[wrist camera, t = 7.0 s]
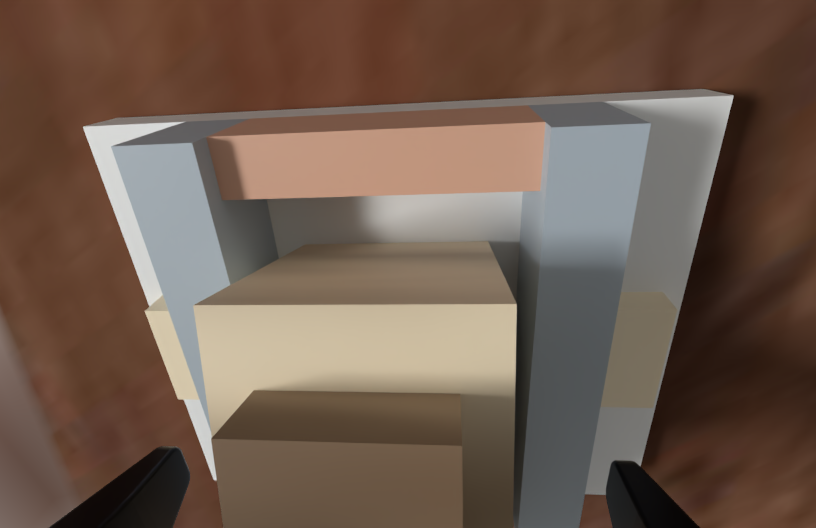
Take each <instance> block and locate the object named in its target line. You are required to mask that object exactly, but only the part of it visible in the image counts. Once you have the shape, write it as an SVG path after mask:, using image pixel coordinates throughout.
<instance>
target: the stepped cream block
mask: <svg viewBox="0 0 816 528" xmlns="http://www.w3.org/2000/svg"><path fill="white" fill-rule="evenodd" d="M193 308H194V315H195V322H196V329H197V336H198V343H199V350H200V357H201V364H202V371H203V379H204V386H205V393H206V400H207V407H208V414H209V421H210V428H211V435H212V438H211V443H212V450H213V457H214V464H215V471H216V478H217V485H218V492H219V499H220V506H221V513H222V520H223V527H224V528H513V494H514V438H515V381H516V325H517V303H516V301H515V299H514V297H513V295H512V292H511V290H510V288H509V286H508V284H507V281H506V279H505V277H504V275H503V273H502V271H501V268H500V266H499V264H498V262H497V260H496V257H495V255H494V253H493V251H492V249H491V246H490V244H489V242H488V241H467V242H411V243H355V244H305V245H303V246H301V247H300V248H298V249H296V250H294V251H292V252H290V253H289V254H287V255H285V256H283V257H281V258H279V259H277V260H276V261H274V262H272V263H270V264H268V265H266V266H265V267H263V268H261V269H259V270H257V271H255V272H254V273H252V274H250V275H248V276H246V277H244V278H242V279H241V280H239V281H237V282H235V283H233V284H231V285H230V286H228V287H226V288H224V289H222V290H220V291H219V292H217V293H215V294H213V295H211V296H209V297H207V298H206V299H204V300H202V301H200V302H198V303H196V304H195V305H193Z"/></svg>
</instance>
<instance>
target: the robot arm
mask: <svg viewBox="0 0 816 528" xmlns="http://www.w3.org/2000/svg"><path fill="white" fill-rule="evenodd" d="M189 481H190V471H189V468H188V466H187V463H186V461H185V458H184V456H183V453H182V451H181V449H180V448H178V447H172V446H161V447H158V448H156V449H155V450H153V451H152V452H151V453H149V454H148V455H147V456H145V457H144V458H143V459H141V460H140V461H139V462H137V463H136V464H134V465H133V466H132V467H130V468H129V469H128V470H126V471H125V472H124V473H122V474H121V475H120V476H118V477H117V478H115V479H114V480H113V481H111V482H110V483H109V484H107V485H106V486H105V487H103V488H102V489H101V490H99V491H98V492H96V493H95V494H94V495H92V496H91V497H90V498H88V499H87V500H86V501H84V502H83V503H81V504H80V505H79V506H77V507H76V508H75V509H73V510H72V511H71V512H69V513H68V514H67V515H65V516H64V517H62V518H61V519H60V520H59V521H57V522H56V523H54V524H53V525H52V526H50V527H49V528H173V525H174V523H175V520H176V517H177V515H178V512H179V509H180V506H181V504H182V501H183V498H184V496H185V493H186V490H187V488H188V485H189ZM606 499H607V504H608V508H609V513H610V517H611V522H612V526H613V528H700V527H699V526H698V525H697V524H696V523H695V522H694V521H693V520H692V519H691V518H690V517H689V516H688V515H687V514H686V513H685V512H684V511H683V510H682V509H681V508H680V507H679V506H678V505H677V504H676V503H675V502H674V501H673V500H672V498H671V497H670V496H669V495H668V494H667V493H666V492H665V491H664V490H663V489H662V488H661V487H660V486H659V485H658V484H657V483H656V482H655V481H654V480H653V479H652V478H651V477H650V476H649V475H648V474H647V473H646V472H645V471H644V470H643V469H642V468H641V467H640V466H639V465H638V464H637V463H636V462H634V461H628V460H614V461H613V462H612V463H611V466H610V470H609V475H608V480H607V485H606Z"/></svg>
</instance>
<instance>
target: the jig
mask: <svg viewBox="0 0 816 528" xmlns="http://www.w3.org/2000/svg"><path fill="white" fill-rule="evenodd" d="M733 97H734V95H730V94H725V93H720V92H716V91H711V90H707V89H692V90H671V91H651V92H631V93H611V94H591V95H571V96H551V97H531V98H510V99H490V100H470V101H450V102H430V103H410V104H390V105H369V106H349V107H329V108H309V109H289V110H269V111H249V112H228V113H208V114H188V115H168V116H148V117H128V118H115V119H111V120H107V121H103V122H99V123H95V124H91V125H87V126H83V129H84V131H85V134H86V137H87V139H88V142H89V145H90V147H91V150H92V153H93V156H94V158H95V161H96V164H97V166H98V169H99V172H100V174H101V177H102V180H103V182H104V185H105V188H106V191H107V193H108V196H109V199H110V201H111V204H112V207H113V209H114V212H115V215H116V218H117V220H118V223H119V226H120V228H121V231H122V234H123V236H124V239H125V242H126V244H127V247H128V250H129V253H130V255H131V258H132V261H133V263H134V266H135V269H136V271H137V274H138V277H139V280H140V282H141V285H142V288H143V290H144V293H145V296H146V298H147V301H148V304H149V306H150V307H149V308H148V309H147V310H145V313H146V316H147V318H148V321H149V324H150V326H151V329H152V331H153V334H154V337H155V339H156V342H157V345H158V347H159V350H160V353H161V355H162V358H163V361H164V363H165V366H166V368H167V371H168V374H169V376H170V379H171V382H172V384H173V387H174V390H175V392H176V395H177V398H178V399H184V401H185V404H186V406H187V409H188V412H189V414H190V417H191V420H192V422H193V425H194V428H195V431H196V433H197V436H198V439H199V441H200V444H201V447H202V449H203V452H204V455H205V457H206V460H207V463H208V466H209V468H210V471H211V474H212V476H213V479H214V480H217V478H216V471H215V464H214V457H213V450H212V443H211V438H212V435H211V428H210V421H209V414H208V407H207V400H206V393H205V386H204V379H203V371H202V364H201V357H200V350H199V343H198V336H197V329H196V322H195V315H194V308H193V305H195V304H196V303H198V302H200V301H202V300H204V299H206V298H207V297H209V296H211V295H213V294H215V293H217V292H219V291H220V290H222V289H224V288H226V287H228V286H230V285H231V284H233V283H235V282H237V281H239V280H241V279H242V278H244V277H246V276H248V275H250V274H252V273H254V272H255V271H257V270H259V269H261V268H263V267H265V266H266V265H268V264H270V263H272V262H274V261H276V260H277V259H279V258H281V257H283V256H285V255H287V254H289V253H290V252H292V251H294V250H296V249H298V248H300V247H301V246H303V245H305V244H355V243H411V242H467V241H488V242H489V244H490V246H491V249H492V251H493V253H494V255H495V257H496V260H497V262H498V264H499V266H500V268H501V271H502V273H503V275H504V277H505V279H506V281H507V284H508V286H509V288H510V290H511V292H512V295H513V297H514V299H515V301H516V303H517V325H516V381H515V438H514V494H513V528H579V524H580V519H581V513H582V507H583V502H584V496H585V494H597V495H606V485H607V480H608V475H609V470H610V466H611V463H612V462H613V461H614V460H628V461H634V462H636V463H637V464H638V465H639V466H640V467H641V463H642V459H643V455H644V451H645V447H646V443H647V439H648V435H649V431H650V427H651V423H652V419H653V415H654V411H655V407H656V403H657V399H658V395H659V391H660V387H661V383H662V379H663V375H664V371H665V367H666V363H667V359H668V355H669V351H670V347H671V343H672V339H673V335H674V331H675V327H676V324H677V320H678V316H679V312H680V308H681V304H682V300H683V296H684V292H685V288H686V284H687V280H688V276H689V272H690V268H691V264H692V260H693V256H694V252H695V248H696V244H697V240H698V236H699V232H700V228H701V224H702V220H703V216H704V212H705V208H706V204H707V200H708V196H709V192H710V188H711V184H712V180H713V176H714V172H715V169H716V165H717V161H718V157H719V153H720V149H721V145H722V141H723V137H724V133H725V129H726V125H727V121H728V117H729V113H730V109H731V105H732V101H733Z"/></svg>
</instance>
